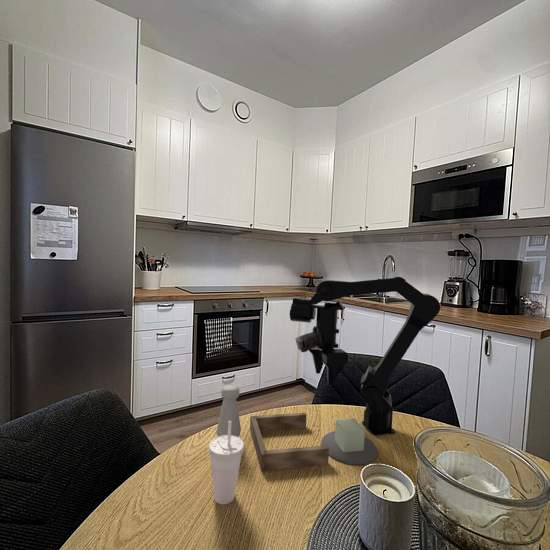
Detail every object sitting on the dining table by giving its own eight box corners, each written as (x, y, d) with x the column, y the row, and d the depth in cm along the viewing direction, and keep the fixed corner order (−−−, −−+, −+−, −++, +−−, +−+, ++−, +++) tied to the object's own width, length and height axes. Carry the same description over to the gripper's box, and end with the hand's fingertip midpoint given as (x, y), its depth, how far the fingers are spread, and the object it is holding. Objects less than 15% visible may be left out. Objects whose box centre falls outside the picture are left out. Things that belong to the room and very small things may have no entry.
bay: (304, 425, 83) (305, 412, 82) (328, 464, 67) (329, 448, 66) (249, 429, 79) (250, 416, 79) (260, 471, 63) (261, 454, 63)
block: (353, 438, 76) (354, 418, 76) (363, 450, 71) (364, 429, 71) (334, 440, 75) (335, 420, 75) (343, 452, 70) (344, 430, 70)
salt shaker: (238, 448, 71) (240, 392, 71) (213, 446, 71) (216, 391, 71) (241, 434, 77) (244, 383, 76) (218, 433, 77) (221, 381, 77)
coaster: (360, 431, 81) (360, 429, 81) (389, 461, 68) (389, 459, 68) (313, 434, 78) (313, 432, 78) (334, 467, 65) (334, 465, 65)
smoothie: (226, 516, 51) (229, 434, 51) (198, 499, 55) (201, 422, 55) (249, 493, 57) (252, 418, 57) (222, 479, 60) (225, 409, 60)
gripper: (290, 318, 94) (287, 369, 95) (310, 331, 76) (307, 393, 76) (324, 318, 97) (321, 368, 97) (351, 331, 79) (348, 391, 79)
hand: (323, 379), depth 87 cm, fingers open, 9 cm apart
